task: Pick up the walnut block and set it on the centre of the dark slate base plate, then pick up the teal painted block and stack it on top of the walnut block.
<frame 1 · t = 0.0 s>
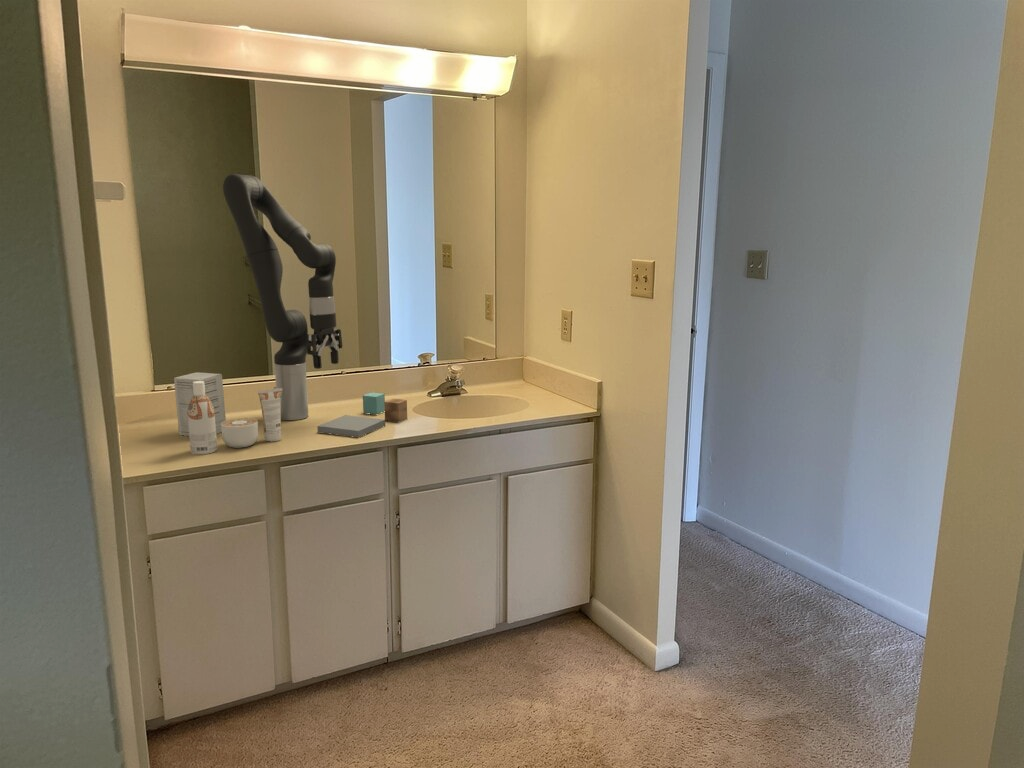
hand: (326, 365, 223), 17 cm above the table, tool pointing down, fingers open, 8 cm apart
slate base: (352, 429, 218), on the table
cosmetic set: (239, 446, 201), on the table
supplement box: (203, 433, 213), on the table
teal block: (374, 412, 238), on the table
walnut block: (396, 419, 229), on the table
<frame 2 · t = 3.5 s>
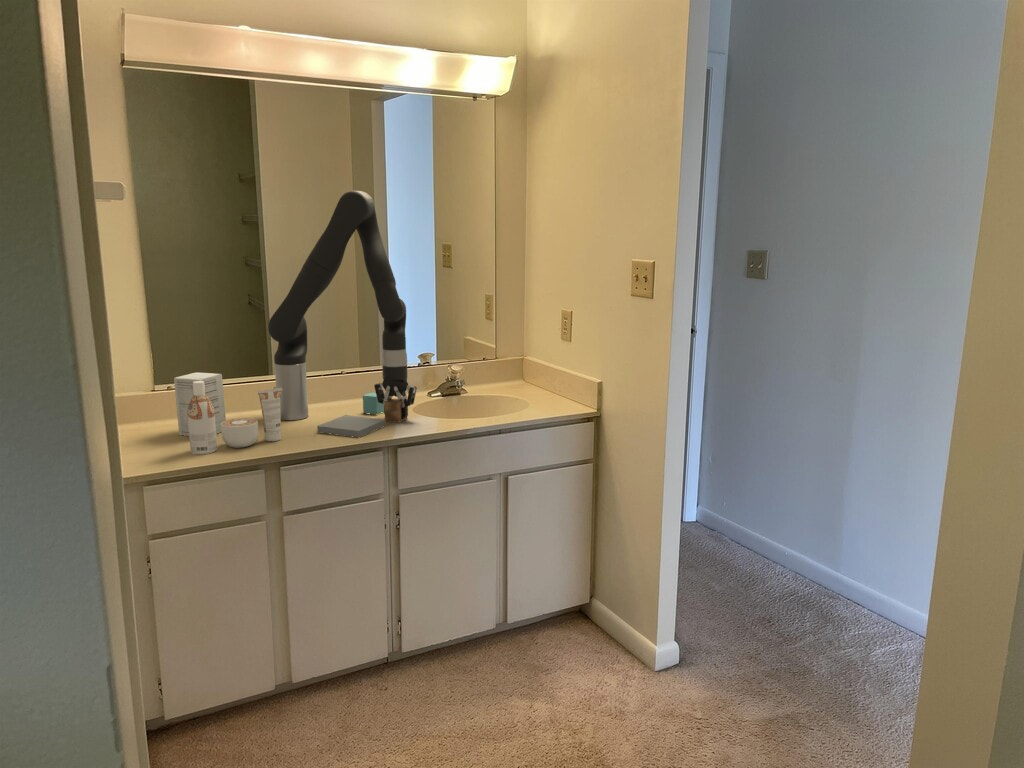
hand: (396, 417, 229), 1 cm above the table, tool pointing down, fingers closed on walnut block, 5 cm apart
walnut block: (396, 419, 229), on the table, touching gripper
everything else where it was.
when the fingers open (4 cm above the table, at t = 9.2 s): walnut block drops 1 cm, resting on slate base.
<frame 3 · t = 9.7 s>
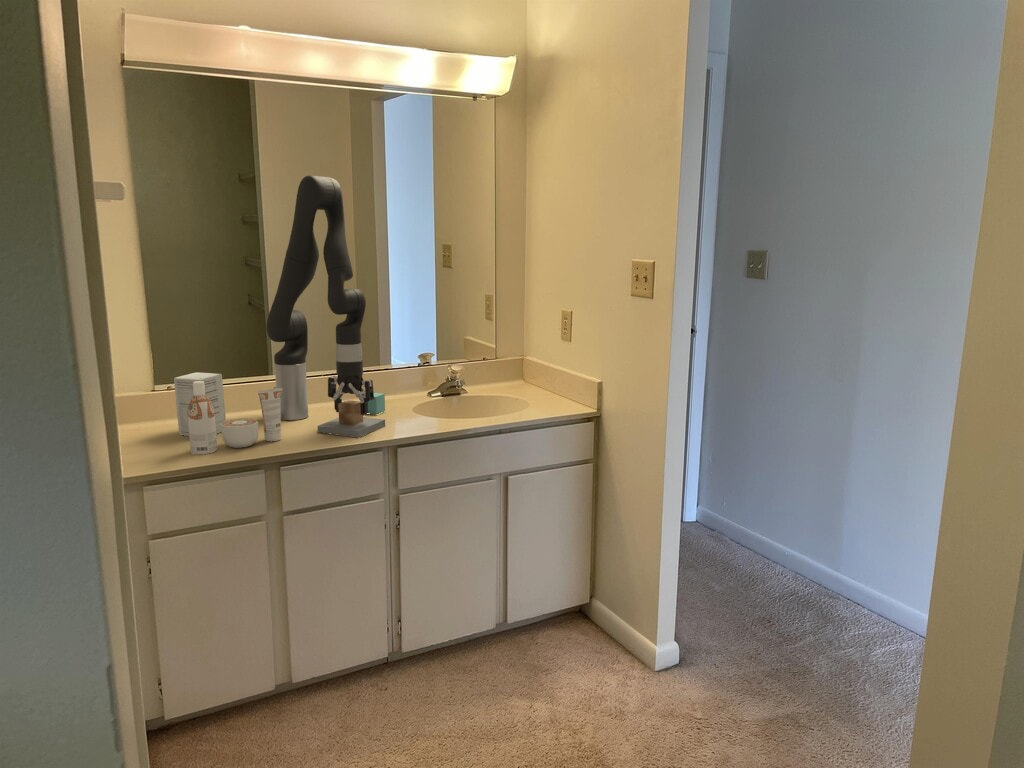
hand: (351, 413, 217), 5 cm above the table, tool pointing down, fingers open, 8 cm apart
walnut block: (351, 422, 217), point 2 cm above the table, touching slate base
everything else where it was.
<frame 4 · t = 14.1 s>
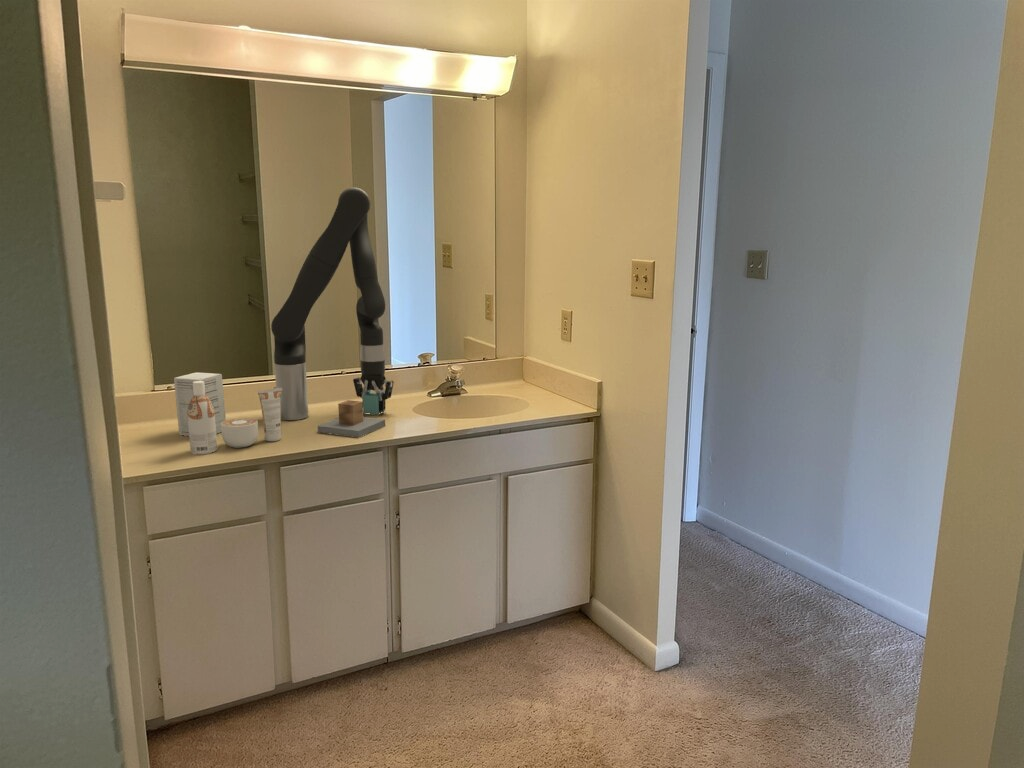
hand: (374, 410, 238), 1 cm above the table, tool pointing down, fingers closed on teal block, 5 cm apart
teal block: (374, 412, 238), on the table, touching gripper
everything else where it was.
when the fingers open (10 cm above the table, at t = 19.6 s): teal block drops 1 cm, resting on walnut block.
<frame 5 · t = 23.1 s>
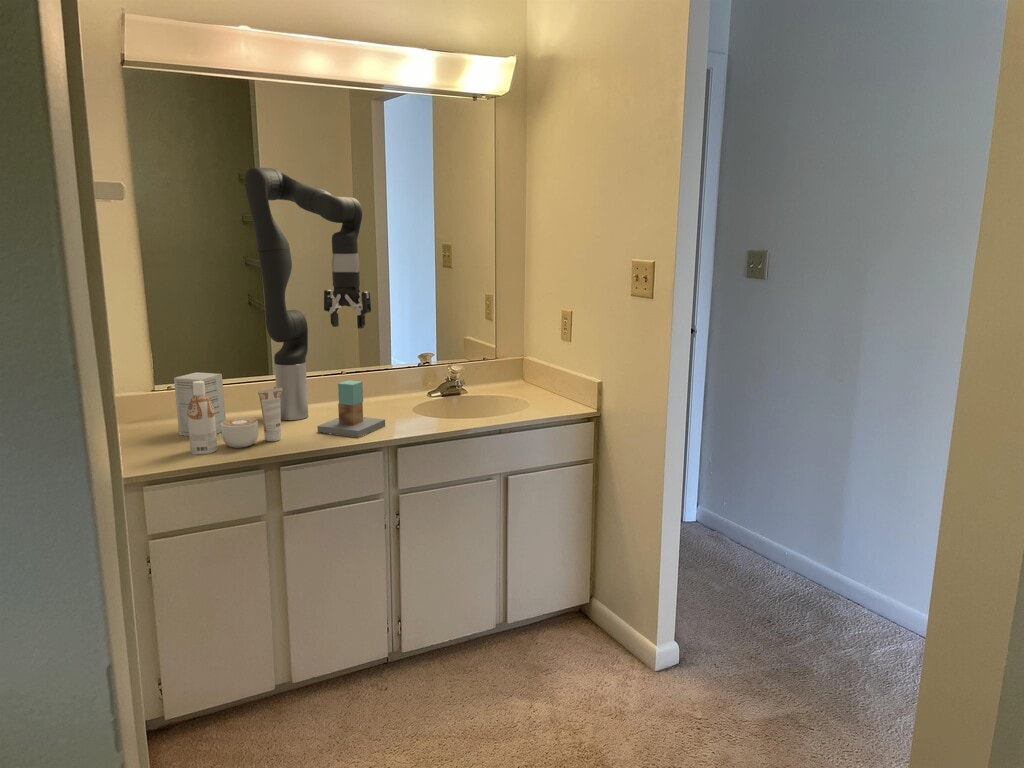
hand: (348, 327, 212), 30 cm above the table, tool pointing down, fingers open, 8 cm apart
teal block: (351, 402, 216), point 8 cm above the table, touching walnut block
walnut block: (351, 422, 217), point 2 cm above the table, touching slate base, teal block
everything else where it was.
at the end: walnut block inside the target area on the slate base (0.2 cm from its centre), point 2.0 cm above the slate base's base; teal block 0.2 cm off-centre on the walnut block, point 6.0 cm above the walnut block's base; teal block tilted 0° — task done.
